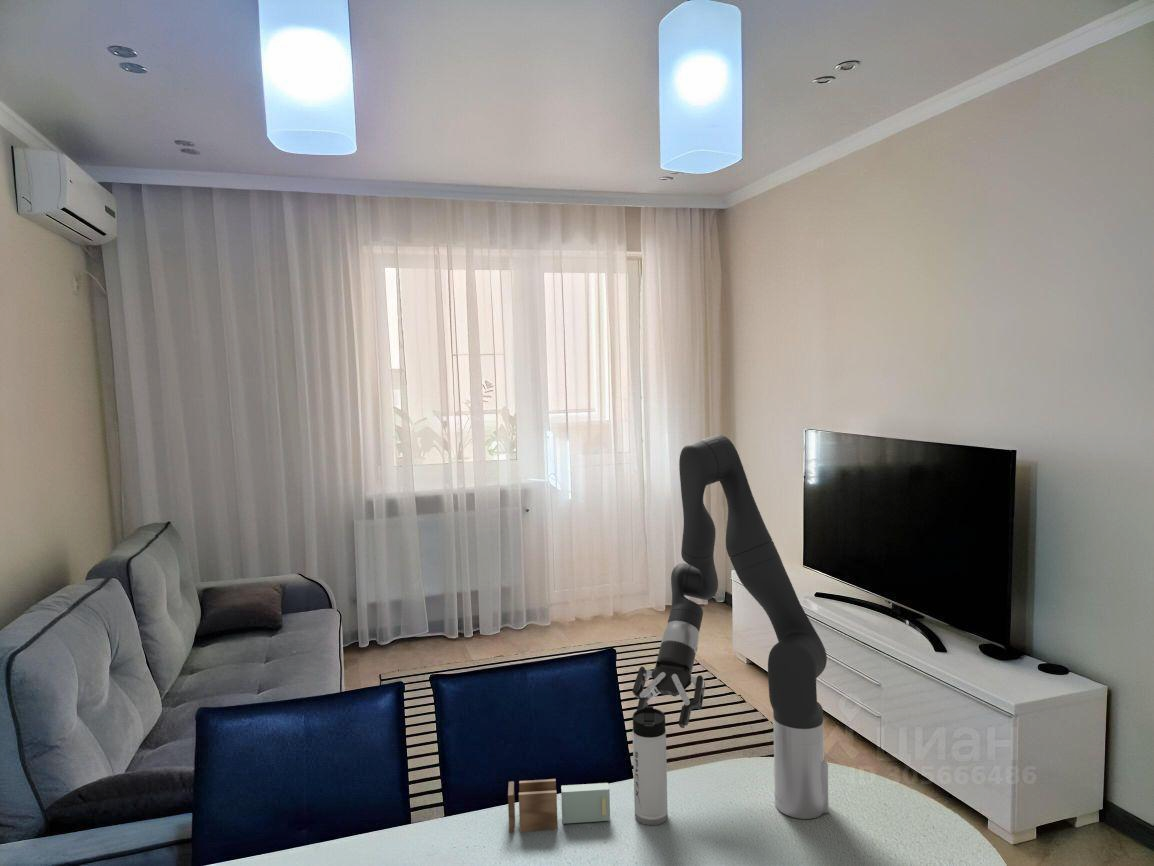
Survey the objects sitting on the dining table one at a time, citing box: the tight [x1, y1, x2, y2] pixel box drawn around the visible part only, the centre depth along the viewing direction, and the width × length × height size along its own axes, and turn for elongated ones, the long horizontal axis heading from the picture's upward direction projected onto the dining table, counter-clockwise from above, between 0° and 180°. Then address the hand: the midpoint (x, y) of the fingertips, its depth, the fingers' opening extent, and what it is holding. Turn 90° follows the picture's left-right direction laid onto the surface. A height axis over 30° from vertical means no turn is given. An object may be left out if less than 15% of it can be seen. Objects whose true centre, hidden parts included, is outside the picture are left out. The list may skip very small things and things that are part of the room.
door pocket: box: [507, 778, 559, 833], centre depth 138 cm, size 9×5×7 cm, turn 94°
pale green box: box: [560, 782, 611, 824], centre depth 139 cm, size 9×3×6 cm, turn 94°
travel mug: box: [632, 705, 669, 826], centre depth 139 cm, size 6×7×20 cm
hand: (660, 722), depth 145 cm, fingers open, 8 cm apart
